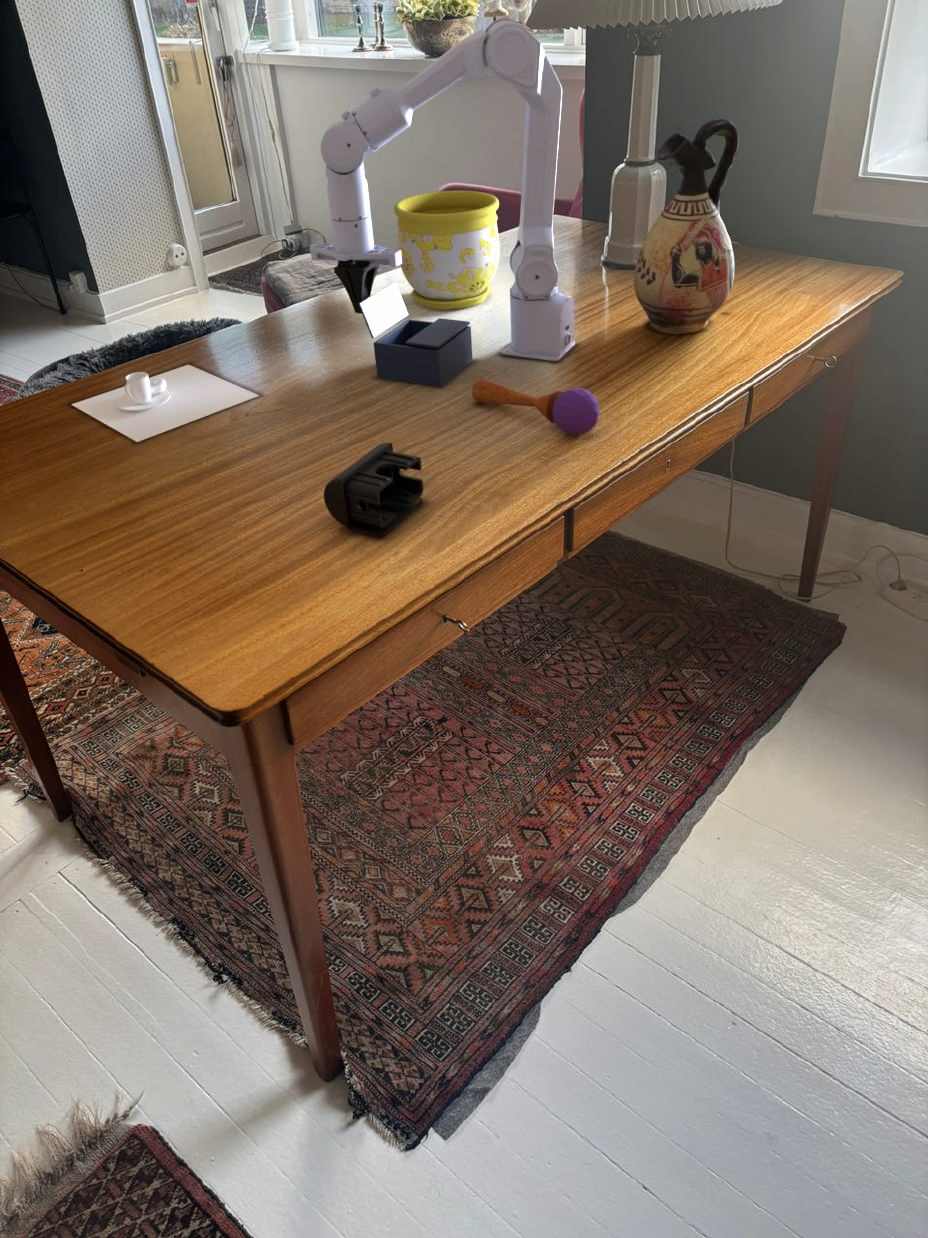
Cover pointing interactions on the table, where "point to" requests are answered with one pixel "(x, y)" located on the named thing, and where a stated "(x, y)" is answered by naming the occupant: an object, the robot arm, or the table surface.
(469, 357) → the carton
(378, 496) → the end cap
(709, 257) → the ceramic jug
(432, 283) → the flowerpot
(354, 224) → the robot arm
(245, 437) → the table surface
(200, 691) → the table surface
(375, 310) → the flap
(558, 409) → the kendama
